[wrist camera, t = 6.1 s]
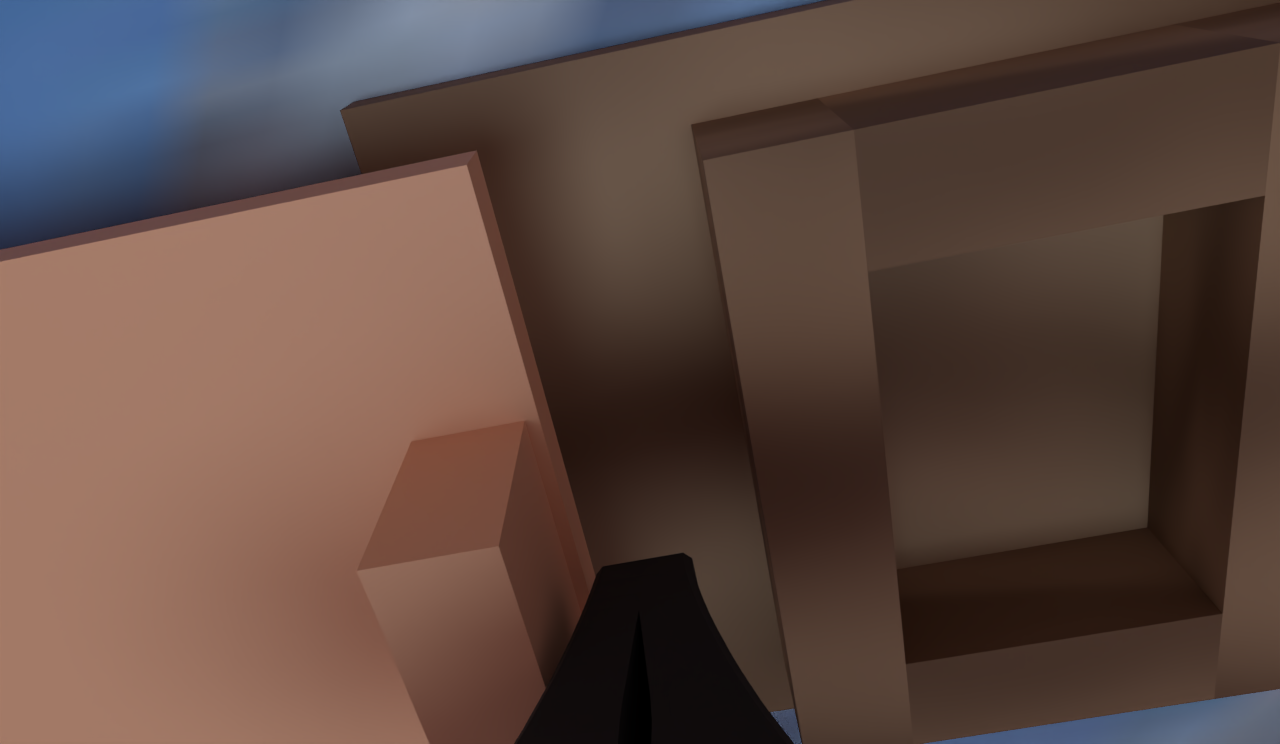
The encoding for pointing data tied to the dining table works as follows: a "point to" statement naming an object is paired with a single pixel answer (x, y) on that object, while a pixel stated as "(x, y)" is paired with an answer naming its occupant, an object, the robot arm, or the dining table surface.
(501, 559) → the panel
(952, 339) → the socket
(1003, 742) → the dining table surface
